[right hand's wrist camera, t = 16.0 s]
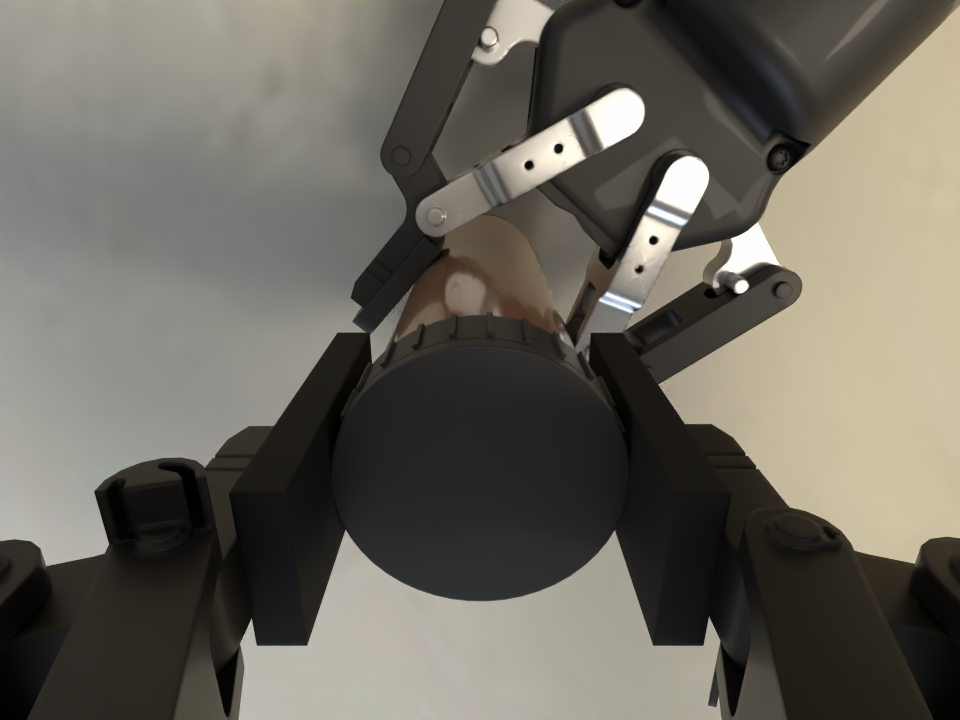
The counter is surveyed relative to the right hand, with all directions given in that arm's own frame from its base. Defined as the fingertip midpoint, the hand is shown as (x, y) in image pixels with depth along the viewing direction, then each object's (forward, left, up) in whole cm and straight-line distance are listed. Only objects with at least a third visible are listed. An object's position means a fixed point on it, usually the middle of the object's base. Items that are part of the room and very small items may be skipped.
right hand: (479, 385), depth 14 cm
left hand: (+1, +2, -6) cm, 6 cm away
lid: (0, 0, +4) cm, 4 cm away
